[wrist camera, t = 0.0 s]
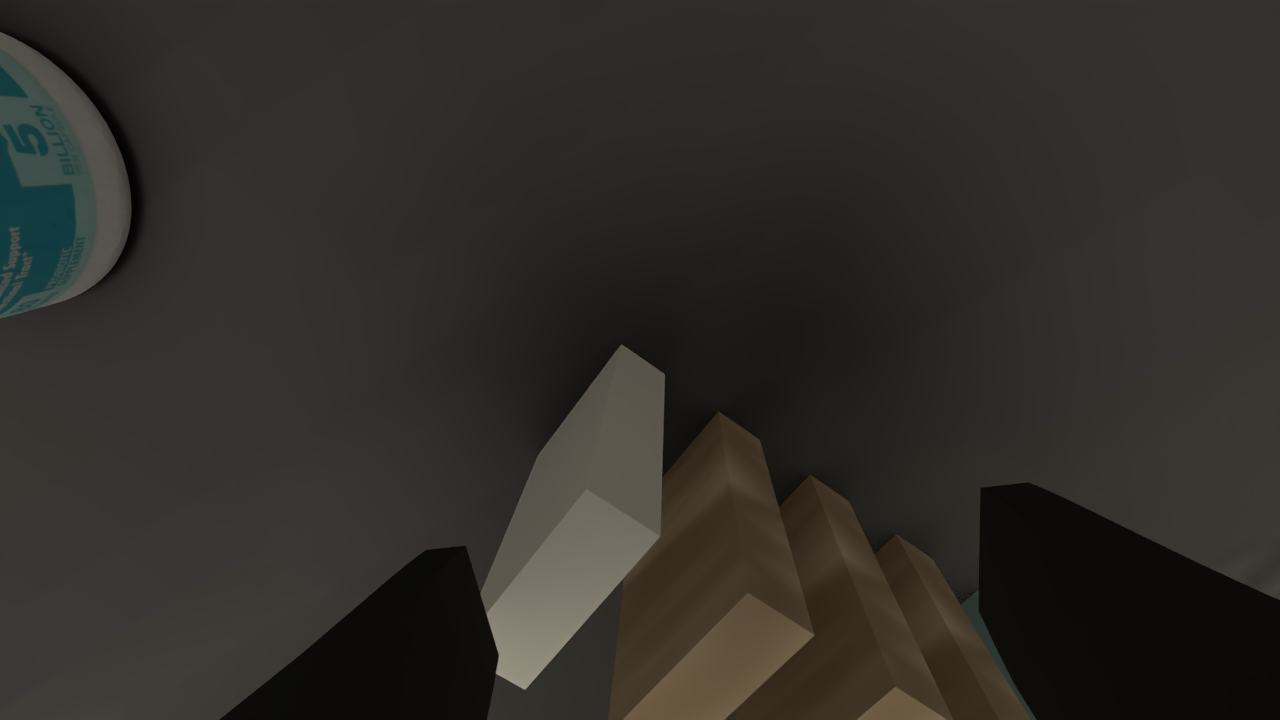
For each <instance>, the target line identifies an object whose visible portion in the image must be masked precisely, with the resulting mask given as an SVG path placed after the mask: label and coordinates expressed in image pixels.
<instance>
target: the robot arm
mask: <svg viewBox="0 0 1280 720" xmlns="http://www.w3.org/2000/svg"><path fill="white" fill-rule="evenodd" d="M979 613H980V615H981V617H982V619H983V621H984V623H985V626H986V628H987V630H988V632H989V634H990V636H991V638H992V640H993V643H994V645H995V647H996V649H997V651H998V653H999V655H1000V657H1001V659H1002V661H1003V663H1004V665H1005V667H1006V669H1007V671H1008V673H1009V675H1010V677H1011V679H1012V681H1013V683H1014V685H1015V686H1016V688H1017V689H1018V691H1019V693H1020V694H1021V696H1022V697H1023V699H1024V701H1025V702H1026V704H1027V705H1028V707H1029V709H1030V710H1031V712H1032V713H1033V715H1034V716H1035V718H1036V720H1280V600H1278V599H1276V598H1273V597H1271V596H1269V595H1267V594H1264V593H1262V592H1260V591H1258V590H1256V589H1253V588H1251V587H1249V586H1247V585H1245V584H1242V583H1240V582H1238V581H1236V580H1234V579H1231V578H1229V577H1227V576H1225V575H1223V574H1221V573H1218V572H1216V571H1214V570H1212V569H1210V568H1208V567H1206V566H1204V565H1201V564H1199V563H1197V562H1195V561H1193V560H1191V559H1189V558H1187V557H1185V556H1183V555H1180V554H1178V553H1176V552H1174V551H1172V550H1170V549H1168V548H1166V547H1164V546H1162V545H1160V544H1158V543H1156V542H1153V541H1151V540H1149V539H1147V538H1145V537H1143V536H1141V535H1139V534H1137V533H1135V532H1133V531H1131V530H1129V529H1127V528H1125V527H1123V526H1121V525H1119V524H1117V523H1115V522H1113V521H1110V520H1108V519H1106V518H1104V517H1102V516H1100V515H1098V514H1096V513H1094V512H1092V511H1090V510H1088V509H1086V508H1084V507H1082V506H1080V505H1078V504H1075V503H1073V502H1071V501H1069V500H1067V499H1065V498H1063V497H1061V496H1059V495H1056V494H1054V493H1052V492H1050V491H1048V490H1045V489H1043V488H1041V487H1038V486H1036V485H1033V484H1031V483H1021V484H1012V485H1003V486H994V487H985V488H981V499H980V555H979ZM498 659H499V654H498V650H497V647H496V644H495V641H494V637H493V634H492V631H491V627H490V624H489V621H488V618H487V614H486V611H485V608H484V604H483V601H482V598H481V595H480V591H479V588H478V585H477V581H476V578H475V575H474V572H473V568H472V565H471V562H470V559H469V555H468V552H467V549H466V546H459V547H450V548H441V549H432V550H426V551H424V552H423V553H421V554H420V555H419V556H417V557H416V558H415V559H413V560H412V561H411V562H409V563H408V564H407V565H406V566H404V567H403V568H402V569H401V570H400V571H398V572H397V573H396V574H395V575H394V576H392V577H391V578H390V579H389V580H388V581H386V582H385V583H384V584H383V585H382V586H381V587H379V588H378V589H377V590H376V591H375V592H373V593H372V594H371V595H370V596H369V597H368V598H367V599H365V600H364V601H363V602H362V603H361V604H360V605H358V606H357V607H356V608H355V609H354V610H353V611H351V612H350V613H349V614H348V615H347V616H345V617H344V618H343V619H342V620H341V621H340V622H338V623H337V624H336V625H335V626H334V627H333V628H331V629H330V630H329V631H328V632H327V633H326V634H324V635H323V636H322V637H321V638H320V639H318V640H317V641H316V642H315V643H314V644H313V645H311V646H310V647H309V648H308V649H307V650H306V651H304V652H303V653H302V654H301V655H300V656H298V657H297V658H296V659H295V660H293V661H292V662H291V663H290V664H288V665H287V666H286V667H285V668H283V669H282V670H281V671H280V672H278V673H277V674H276V675H275V676H273V677H272V678H271V679H270V680H268V681H267V682H266V683H265V684H263V685H262V686H261V687H260V688H258V689H257V690H256V691H255V692H253V693H252V694H251V695H250V696H248V697H247V698H246V699H245V700H243V701H242V702H241V703H240V704H238V705H237V706H236V707H235V708H233V709H232V710H231V711H230V712H228V713H227V714H226V715H225V716H223V717H222V718H221V719H220V720H487V715H488V711H489V706H490V701H491V697H492V692H493V686H494V681H495V675H496V670H497V664H498Z"/></svg>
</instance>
